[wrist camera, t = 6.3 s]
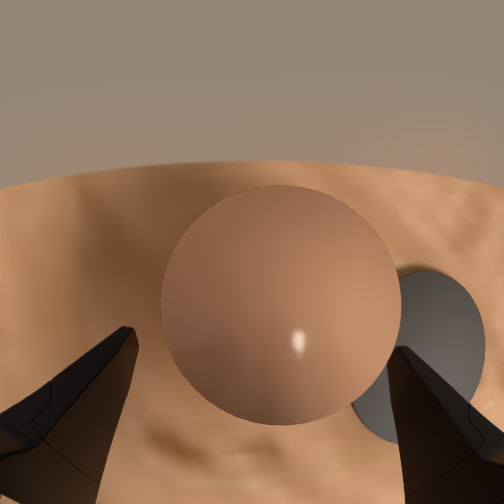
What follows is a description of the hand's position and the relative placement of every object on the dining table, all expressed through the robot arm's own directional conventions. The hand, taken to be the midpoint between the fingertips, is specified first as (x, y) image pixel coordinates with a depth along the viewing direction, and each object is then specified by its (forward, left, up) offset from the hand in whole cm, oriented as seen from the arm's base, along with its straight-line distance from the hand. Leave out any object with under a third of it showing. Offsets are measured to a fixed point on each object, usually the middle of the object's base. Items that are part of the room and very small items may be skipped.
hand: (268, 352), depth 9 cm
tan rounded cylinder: (+1, -1, -9) cm, 9 cm away
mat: (-9, -9, -9) cm, 15 cm away
